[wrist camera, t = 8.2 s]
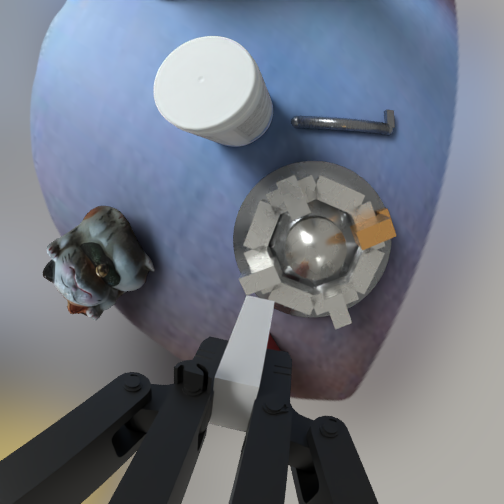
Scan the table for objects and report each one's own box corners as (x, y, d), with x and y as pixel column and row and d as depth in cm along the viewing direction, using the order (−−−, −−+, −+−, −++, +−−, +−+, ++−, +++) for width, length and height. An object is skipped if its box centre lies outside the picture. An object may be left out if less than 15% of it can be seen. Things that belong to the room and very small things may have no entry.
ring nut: (233, 276, 36) (221, 294, 30) (277, 159, 32) (274, 155, 26) (342, 319, 36) (349, 343, 30) (395, 211, 31) (413, 218, 25)
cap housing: (241, 157, 35) (231, 153, 30) (391, 172, 33) (408, 172, 27) (235, 300, 41) (225, 319, 35) (370, 312, 38) (380, 332, 32)
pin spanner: (291, 128, 34) (291, 126, 32) (290, 104, 33) (290, 101, 31) (391, 136, 32) (395, 134, 30) (390, 112, 31) (394, 110, 29)
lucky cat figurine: (166, 287, 42) (103, 348, 32) (124, 275, 48) (70, 323, 38) (127, 197, 34) (42, 253, 25) (90, 202, 41) (24, 246, 31)
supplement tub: (259, 72, 32) (239, 18, 18) (283, 133, 34) (277, 105, 20) (193, 97, 34) (141, 62, 20) (214, 158, 36) (167, 148, 22)
